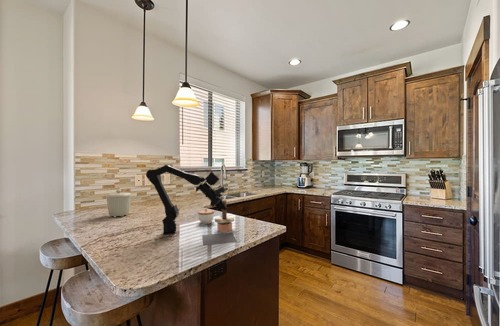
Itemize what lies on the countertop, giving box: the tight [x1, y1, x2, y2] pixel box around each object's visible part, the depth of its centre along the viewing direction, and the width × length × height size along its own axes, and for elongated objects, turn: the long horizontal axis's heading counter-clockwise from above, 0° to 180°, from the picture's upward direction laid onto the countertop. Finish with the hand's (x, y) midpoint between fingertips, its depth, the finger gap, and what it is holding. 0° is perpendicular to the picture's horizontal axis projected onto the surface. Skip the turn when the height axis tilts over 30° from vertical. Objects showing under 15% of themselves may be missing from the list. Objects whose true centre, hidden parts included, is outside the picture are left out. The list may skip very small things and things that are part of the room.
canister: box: [104, 189, 133, 217], centre depth 174 cm, size 18×18×21 cm
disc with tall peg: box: [214, 199, 235, 223], centre depth 132 cm, size 12×12×12 cm
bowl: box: [216, 222, 233, 233], centre depth 132 cm, size 8×8×4 cm
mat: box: [201, 232, 238, 246], centre depth 117 cm, size 17×16×1 cm
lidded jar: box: [197, 208, 215, 225], centre depth 150 cm, size 11×11×9 cm
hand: (226, 209), depth 133 cm, fingers closed on disc with tall peg, 3 cm apart
